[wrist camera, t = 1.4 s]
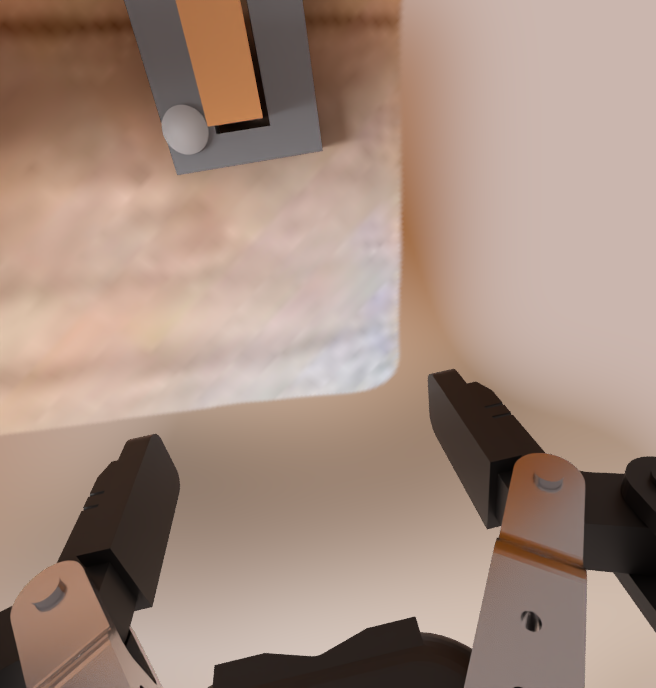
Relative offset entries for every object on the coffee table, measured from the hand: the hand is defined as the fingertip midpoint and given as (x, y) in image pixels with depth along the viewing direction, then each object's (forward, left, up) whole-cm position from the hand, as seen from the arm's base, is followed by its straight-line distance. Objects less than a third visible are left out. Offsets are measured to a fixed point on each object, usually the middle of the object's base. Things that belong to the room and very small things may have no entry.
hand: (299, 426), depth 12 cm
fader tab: (-1, +11, -24) cm, 26 cm away
